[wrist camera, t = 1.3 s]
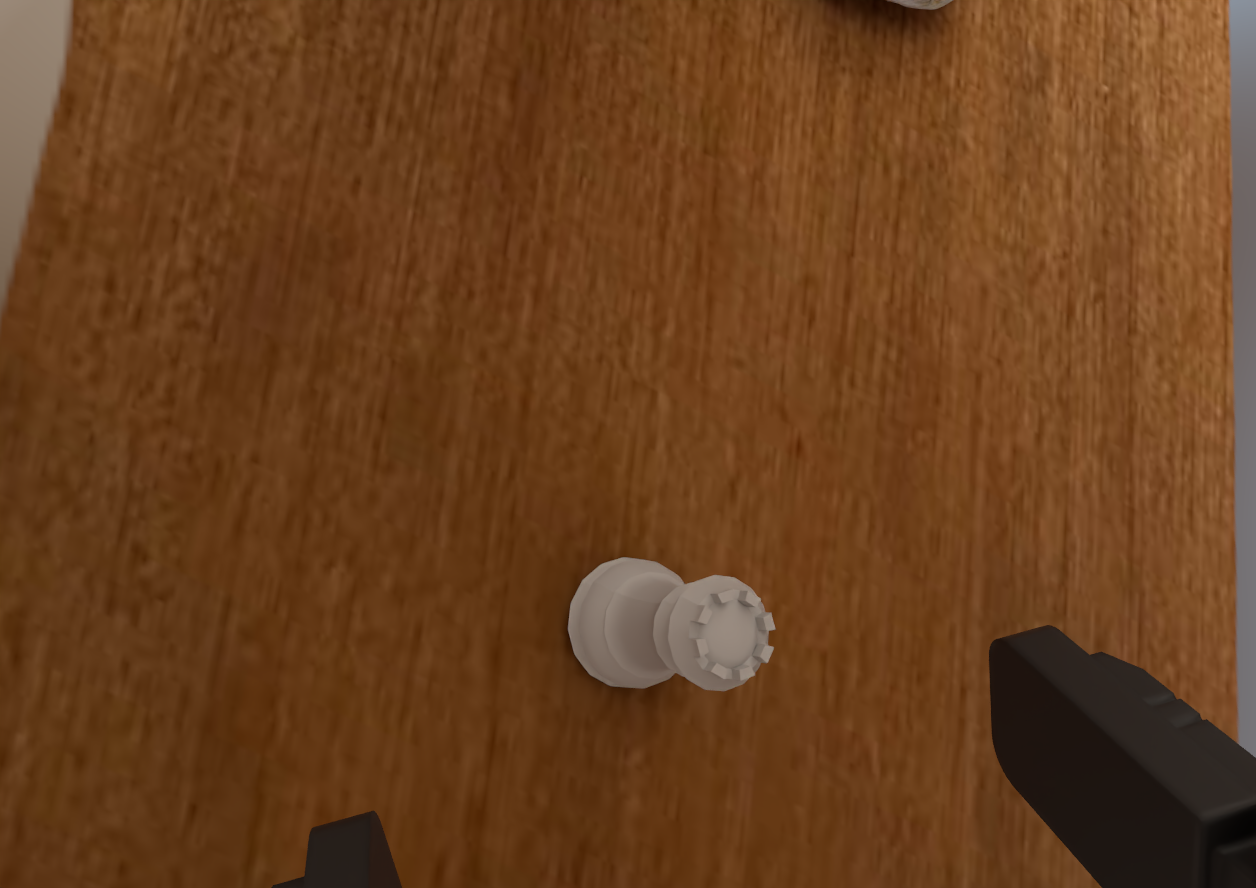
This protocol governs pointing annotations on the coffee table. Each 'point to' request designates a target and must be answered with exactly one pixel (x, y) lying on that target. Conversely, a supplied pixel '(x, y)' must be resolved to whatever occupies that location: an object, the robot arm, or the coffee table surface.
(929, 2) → the stone
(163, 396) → the coffee table surface
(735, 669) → the rook chess piece
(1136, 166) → the coffee table surface
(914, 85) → the coffee table surface
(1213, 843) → the robot arm
